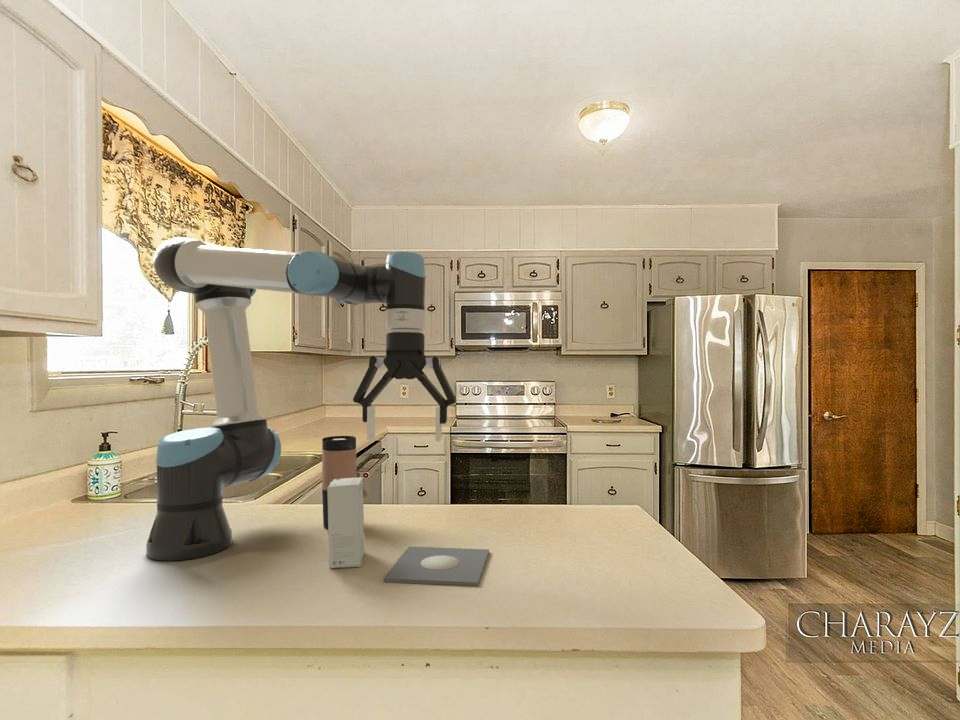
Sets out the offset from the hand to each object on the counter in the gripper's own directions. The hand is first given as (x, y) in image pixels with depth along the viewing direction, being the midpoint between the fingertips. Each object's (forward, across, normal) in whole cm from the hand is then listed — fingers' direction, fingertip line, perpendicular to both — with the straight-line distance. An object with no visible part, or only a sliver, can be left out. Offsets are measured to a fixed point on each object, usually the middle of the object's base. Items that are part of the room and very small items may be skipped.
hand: (404, 439), depth 106 cm
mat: (+22, +9, -8) cm, 24 cm away
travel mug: (+22, -19, +15) cm, 33 cm away
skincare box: (+22, -9, -6) cm, 25 cm away
